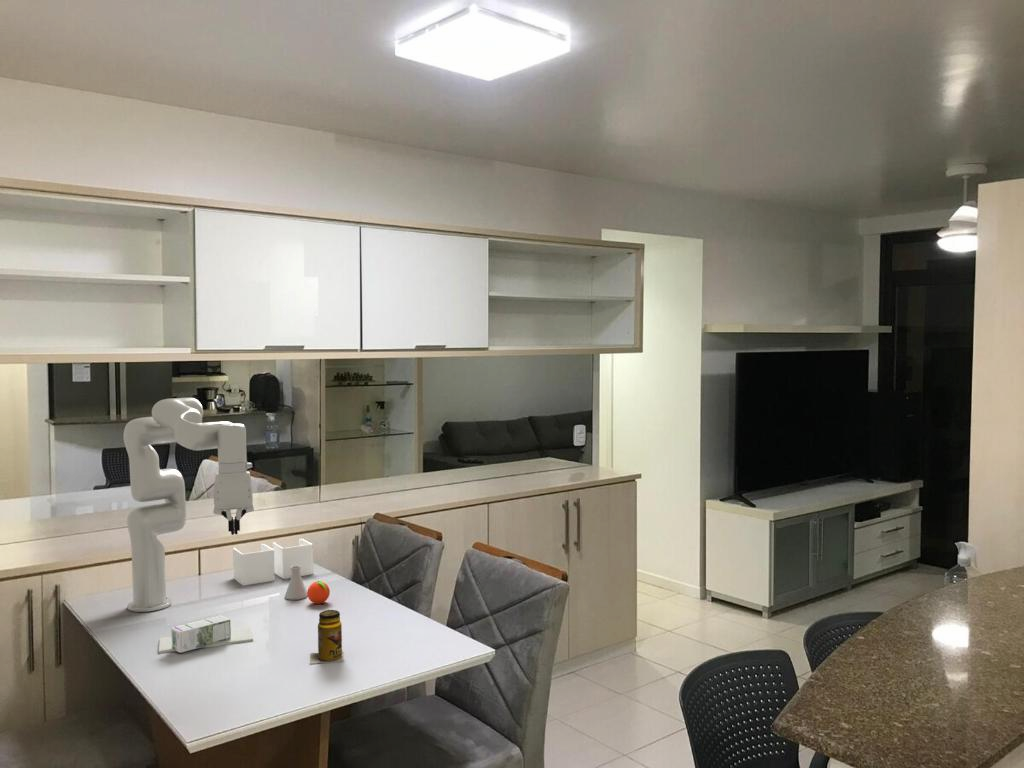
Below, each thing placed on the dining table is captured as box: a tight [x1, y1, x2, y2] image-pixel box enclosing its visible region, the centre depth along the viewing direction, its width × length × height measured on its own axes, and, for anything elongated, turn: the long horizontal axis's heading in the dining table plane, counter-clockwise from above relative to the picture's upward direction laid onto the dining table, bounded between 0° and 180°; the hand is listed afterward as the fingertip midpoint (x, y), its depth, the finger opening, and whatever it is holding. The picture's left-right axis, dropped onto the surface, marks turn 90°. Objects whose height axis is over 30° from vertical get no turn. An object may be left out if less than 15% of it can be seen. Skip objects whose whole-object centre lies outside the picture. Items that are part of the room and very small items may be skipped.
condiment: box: [309, 609, 345, 665], centre depth 218 cm, size 7×8×12 cm
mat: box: [158, 626, 254, 654], centre depth 232 cm, size 11×24×1 cm, turn 111°
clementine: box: [307, 580, 331, 605], centre depth 265 cm, size 8×7×7 cm
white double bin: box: [232, 538, 314, 586], centre depth 297 cm, size 25×11×11 cm, turn 124°
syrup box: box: [170, 614, 232, 653], centre depth 228 cm, size 6×6×14 cm
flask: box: [284, 566, 308, 601], centre depth 272 cm, size 7×7×10 cm
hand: (234, 533), depth 234 cm, fingers closed
